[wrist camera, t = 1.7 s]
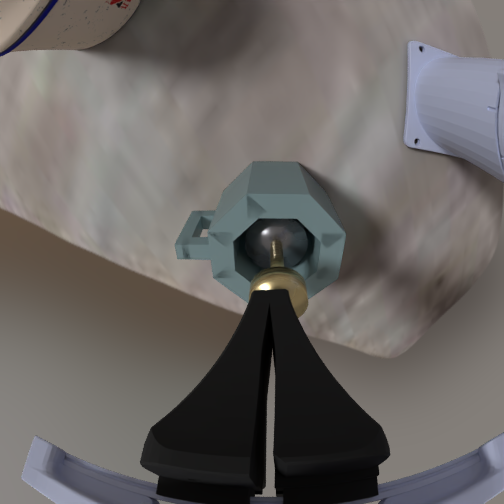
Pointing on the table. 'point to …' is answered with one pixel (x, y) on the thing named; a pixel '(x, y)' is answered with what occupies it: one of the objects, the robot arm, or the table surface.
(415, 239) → the table surface
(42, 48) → the teacup with lid
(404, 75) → the table surface
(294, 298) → the plunger
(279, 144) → the table surface
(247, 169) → the tea press body
